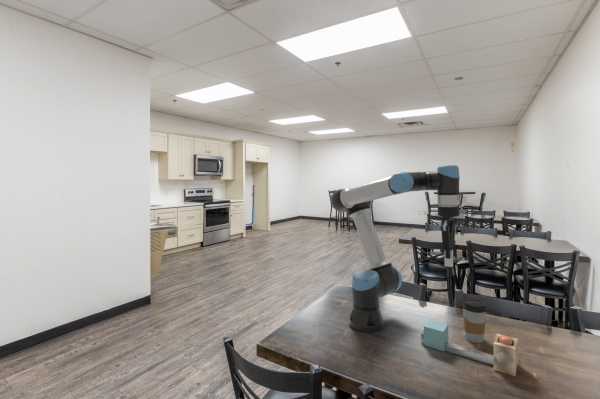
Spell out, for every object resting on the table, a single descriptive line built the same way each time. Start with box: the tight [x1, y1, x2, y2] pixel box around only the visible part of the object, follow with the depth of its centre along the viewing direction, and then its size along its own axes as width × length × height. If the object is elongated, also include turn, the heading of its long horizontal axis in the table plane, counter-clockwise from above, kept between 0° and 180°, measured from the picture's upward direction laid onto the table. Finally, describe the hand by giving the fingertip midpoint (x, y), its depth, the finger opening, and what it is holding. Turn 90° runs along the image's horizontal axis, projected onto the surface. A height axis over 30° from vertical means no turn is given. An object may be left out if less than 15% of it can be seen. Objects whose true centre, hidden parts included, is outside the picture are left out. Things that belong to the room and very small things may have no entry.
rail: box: [420, 329, 494, 366], centre depth 111 cm, size 26×3×4 cm, turn 50°
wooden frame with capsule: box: [492, 333, 519, 377], centre depth 101 cm, size 6×8×9 cm
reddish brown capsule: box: [499, 334, 513, 346], centre depth 101 cm, size 4×4×3 cm
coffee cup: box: [462, 298, 488, 344], centre depth 119 cm, size 8×8×15 cm
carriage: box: [423, 319, 449, 352], centre depth 116 cm, size 7×7×8 cm
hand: (448, 266), depth 117 cm, fingers closed
